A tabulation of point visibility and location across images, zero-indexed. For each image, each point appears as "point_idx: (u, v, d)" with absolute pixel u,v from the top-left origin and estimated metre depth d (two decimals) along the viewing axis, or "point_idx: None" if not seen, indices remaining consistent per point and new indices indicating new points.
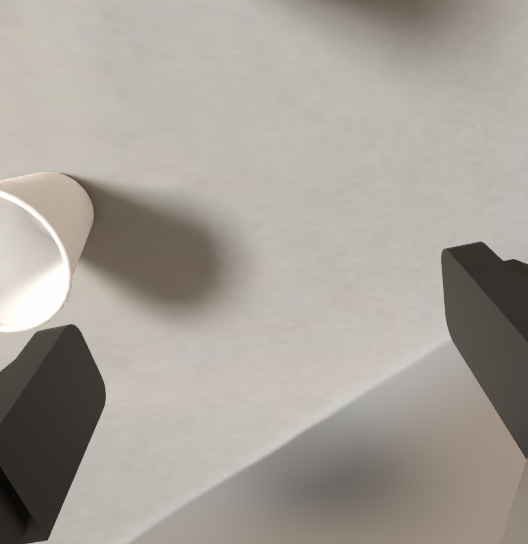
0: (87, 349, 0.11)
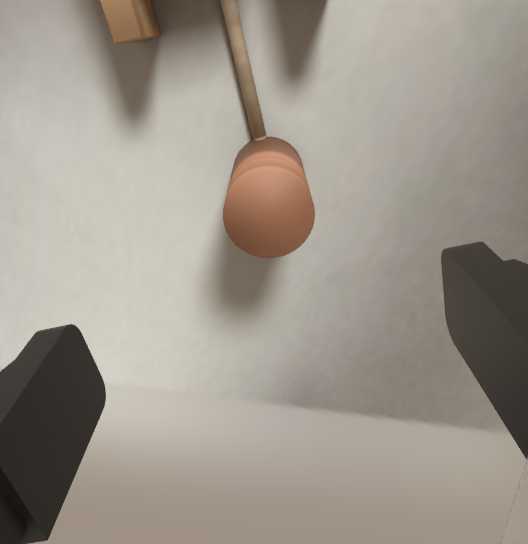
0: (87, 349, 0.11)
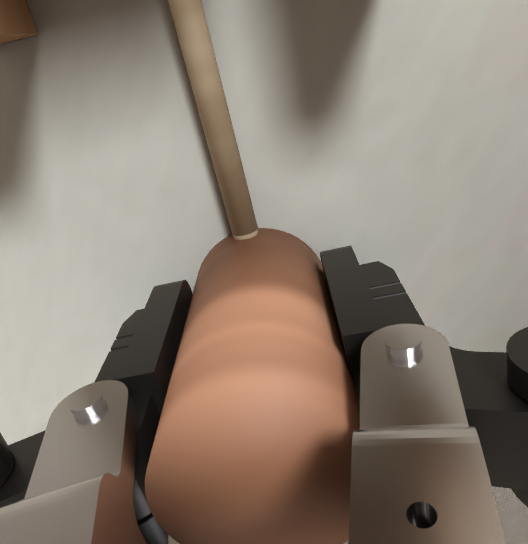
0: None
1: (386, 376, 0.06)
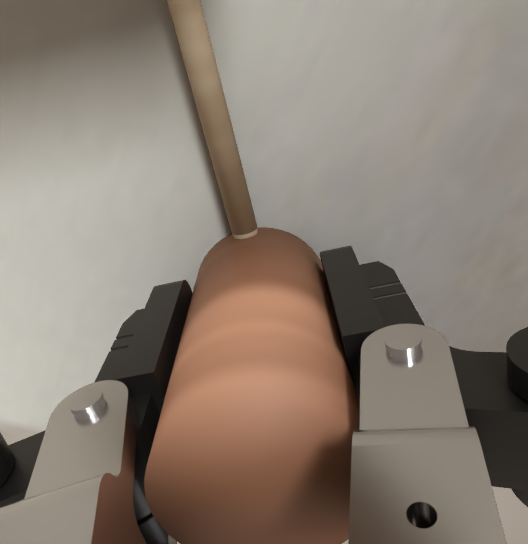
0: None
1: (386, 376, 0.06)
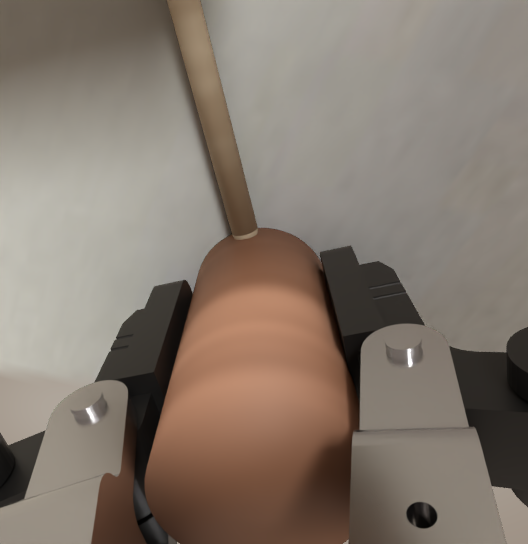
0: None
1: (386, 376, 0.06)
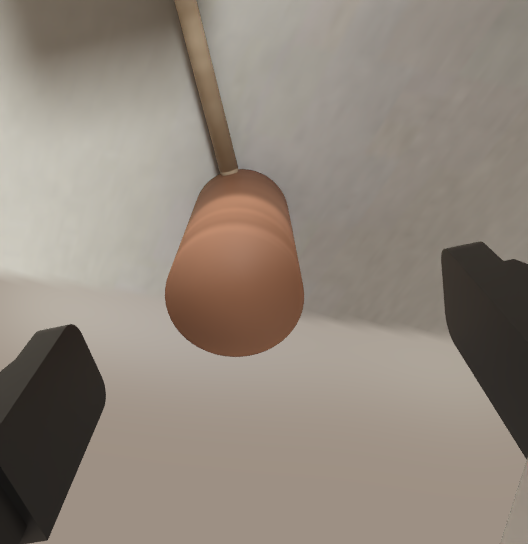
0: (87, 349, 0.11)
1: None
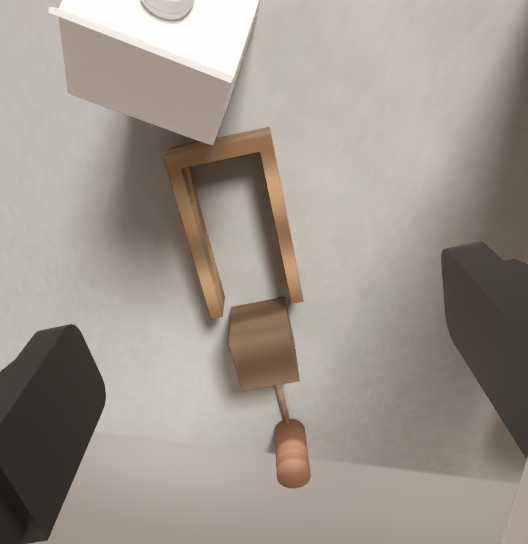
0: (87, 349, 0.11)
1: None
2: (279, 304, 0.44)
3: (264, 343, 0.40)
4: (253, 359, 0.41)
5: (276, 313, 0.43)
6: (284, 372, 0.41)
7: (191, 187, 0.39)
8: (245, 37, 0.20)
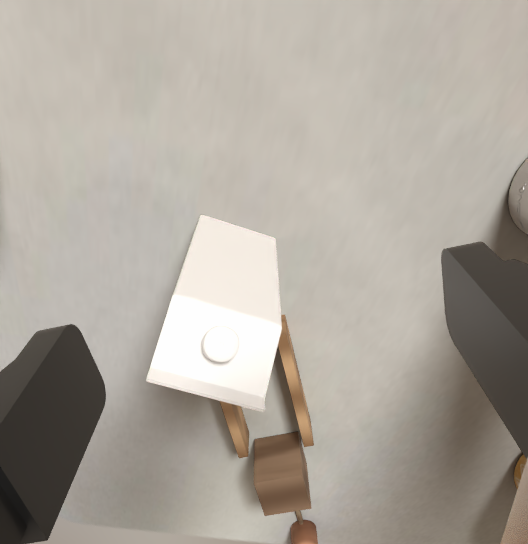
0: (87, 349, 0.11)
1: None
2: (294, 439, 0.53)
3: (282, 482, 0.49)
4: (273, 494, 0.50)
5: (291, 450, 0.52)
6: (298, 502, 0.51)
7: None
8: (271, 365, 0.30)
